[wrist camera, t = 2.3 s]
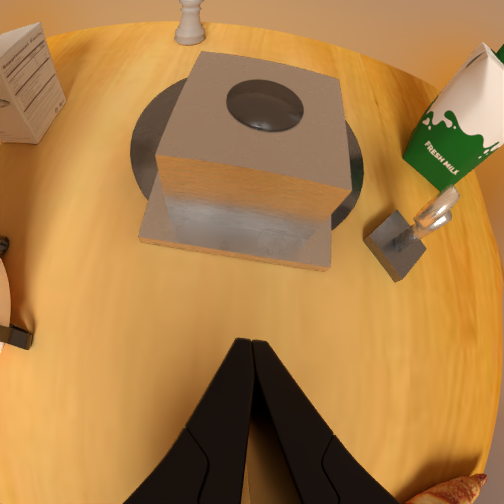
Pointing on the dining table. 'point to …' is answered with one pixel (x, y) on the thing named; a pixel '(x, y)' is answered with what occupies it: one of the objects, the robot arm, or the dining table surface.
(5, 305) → the coffee press
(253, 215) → the cover
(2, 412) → the dining table surface
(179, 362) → the dining table surface
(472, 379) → the dining table surface
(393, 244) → the rubber stamp
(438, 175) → the milk carton
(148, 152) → the platter
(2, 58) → the supplement box
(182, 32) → the rook chess piece
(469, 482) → the croissant
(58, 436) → the dining table surface
